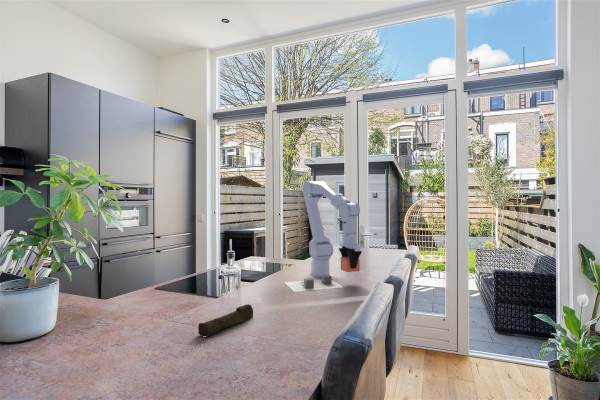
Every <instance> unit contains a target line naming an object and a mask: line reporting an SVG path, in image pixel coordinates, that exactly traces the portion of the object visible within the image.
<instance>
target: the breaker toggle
mask: <svg viewBox="0 0 600 400" xmlns="http://www.w3.org/2000/svg"><path fill="white" fill-rule="evenodd" d="M314 280H315V279H313V278H312V277H309V278H303V281H304V287H305V288H314Z"/></svg>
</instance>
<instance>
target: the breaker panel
mask: <svg viewBox="0 0 600 400" xmlns="http://www.w3.org/2000/svg"><path fill="white" fill-rule="evenodd" d="M313 280H314V288H305V287H304V280H296V281H295V280H294V281H284V284H285V285H287V287H289V289H290V290H292V291H293V292H294V293H296V292H307V291H308V292H309V291H319V290H321V291H322V290H330V289H342V288H344V286H343V285H341V284H339V283H338V282H336V281H335V280H333V278H332V275H322V277H321V279H320V278H317V279H313Z"/></svg>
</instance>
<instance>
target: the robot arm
mask: <svg viewBox="0 0 600 400" xmlns="http://www.w3.org/2000/svg"><path fill="white" fill-rule="evenodd" d="M301 190H302V194H303V198H304V199H303V200H304V202H305V207H306V211H307V215H308V216H307V217H308V221H309V226H310V231H311V235H312V239H311V240H310V241H309V243H308V246H309V247H308V249H309V250H308V253H309V255H310V257H311V259H312V260H311V261H310V262H311V263H310V264H311V265H310V266H311V267H310V269H311V274H312V275H313V276H314V277H315V278H316V277H317V278H322V275H330V268H331V267H330V259H331V258H332V256H333V254H334V247H333V245H332V243H331V240H330V238H328V237H327V236H325V231H324V228H323V223H322V218H321V213H320V210H319V205H318V204H319V201H321V199H323V197H325V198H326V199H328V200H329V201H330V204H331V206H333V207H334V208H335V209H336V210H337V211H339V215H340V218H341V219H340V221H341V222H342V241H339V243H340V244H339V246H340V247H339V248H338V251H339V253H340V255H341V257H349V260H350V267H351V268H356V266H357V262H358V259H359V260H360V256H361V254H362V250H361V245H359V244H358V219H357V218H358V217H359V215H360V213H361V207H360V205H359V204H358V203H357V202H352V201H351V200H350V199H349V198H347V197H345V196H344V194H343V193H336V192H334V190H332V189H331V188H330V187H329V186H328V183H326V182H325V181H323V180H320V181H318V180H317V181H315V180H305V181H304V182H303V185H302V188H301ZM330 276H331V275H330Z"/></svg>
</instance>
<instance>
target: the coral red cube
mask: <svg viewBox="0 0 600 400" xmlns="http://www.w3.org/2000/svg"><path fill="white" fill-rule="evenodd" d="M360 264H361V263H360V258H359V259H358V262H357V266H356V268H351V267H350V260H349V257H342V256H340V270H341V271H343V272H345V273H354V272H360Z"/></svg>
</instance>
